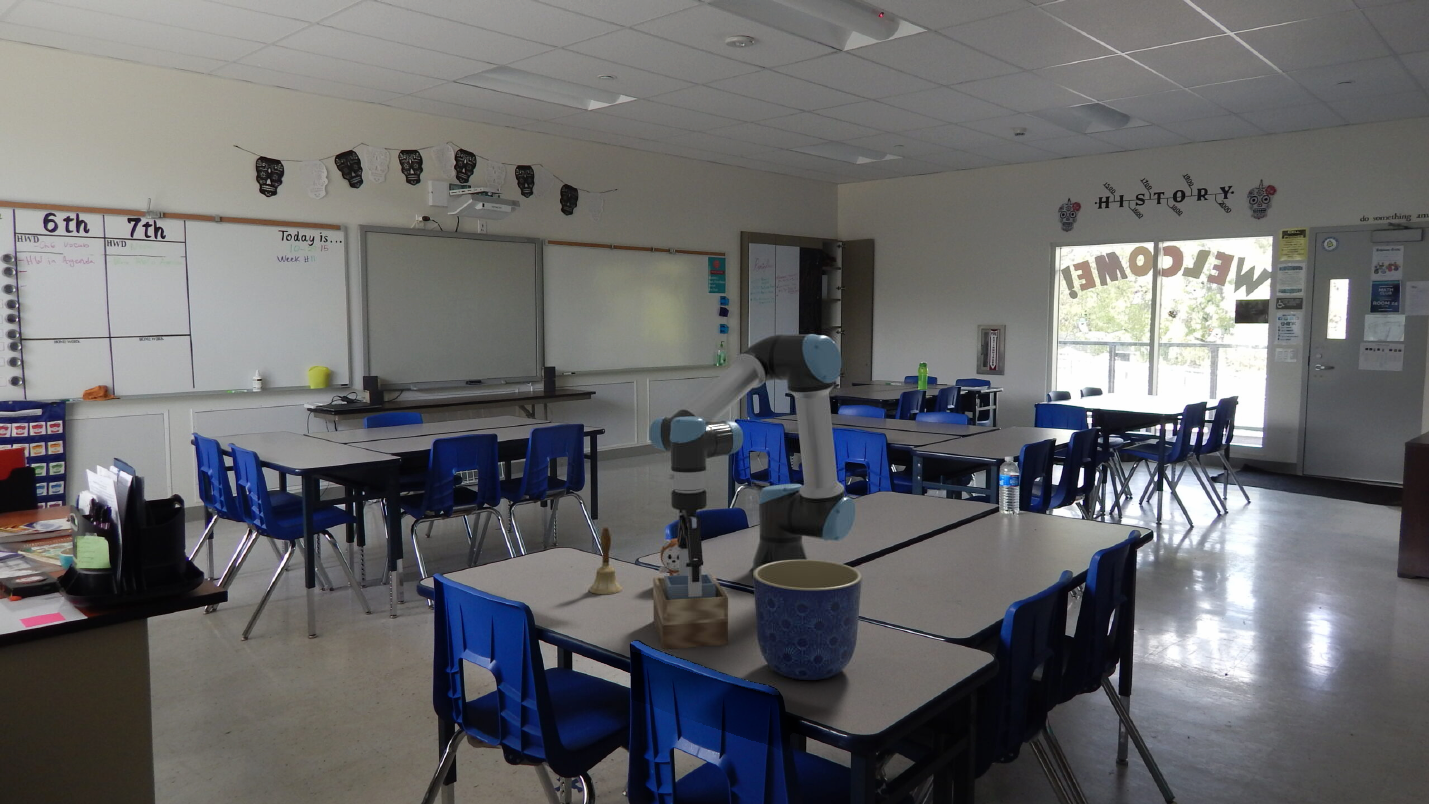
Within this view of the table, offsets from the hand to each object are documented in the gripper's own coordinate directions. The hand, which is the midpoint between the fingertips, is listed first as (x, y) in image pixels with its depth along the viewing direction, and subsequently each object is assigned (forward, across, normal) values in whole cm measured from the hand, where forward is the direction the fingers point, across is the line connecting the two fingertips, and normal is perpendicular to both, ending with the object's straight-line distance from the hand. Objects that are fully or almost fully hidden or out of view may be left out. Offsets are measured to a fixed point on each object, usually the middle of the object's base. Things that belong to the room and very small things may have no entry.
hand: (690, 586), depth 192 cm
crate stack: (+10, 0, 0) cm, 10 cm away
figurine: (+11, -35, +2) cm, 36 cm away
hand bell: (+10, -35, -16) cm, 40 cm away
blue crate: (+4, 0, 0) cm, 4 cm away
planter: (+10, +25, +19) cm, 33 cm away
